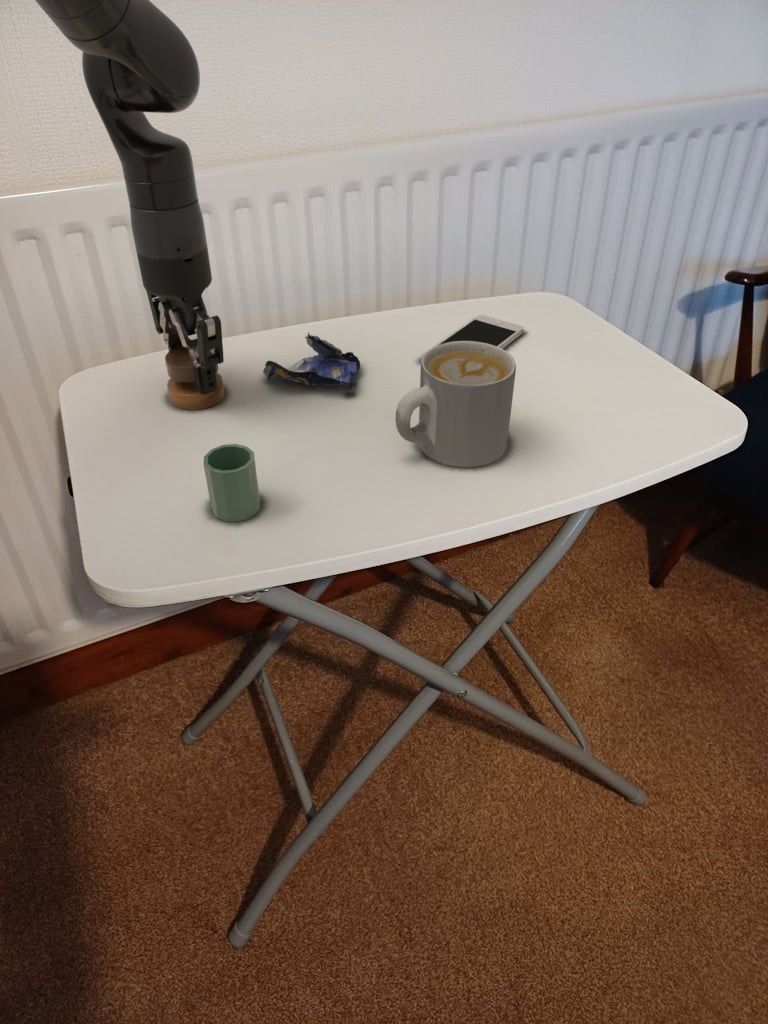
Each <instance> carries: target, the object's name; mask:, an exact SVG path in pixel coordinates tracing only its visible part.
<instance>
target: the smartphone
mask: <svg viewBox="0 0 768 1024" xmlns="http://www.w3.org/2000/svg"><path fill="white" fill-rule="evenodd" d="M524 327H525V326H523V325H520V324H516V323H512V322H509V321H507V320H506V321H505V320H502V319H499V318H495V317H492V316H488V315H485V314H479V315H477V316H476V317H474V318H473V319H471V320H470V321H468V322H467V323H466V324H464V325H463V326H461V327H460V328H459V329H457V330H455V331H454V332H453V333H451V334H450V335H448V336H446V337H445V338H444V339H443V340H441V341H440V342H438V343H437V344H436V345H434V346H433V347H435V346H437V345H440V344H444V343H448V342H455V341H474V342H482V343H487V344H490V345H494V346H496V347H499V348H501V349H503V350H504V349H505V348H506V347H507V346H508V345H510V344H511V343H512V342H514V341H515V339H517V338H518V337H520V336H521V335H522V334H523V333H524ZM425 353H426V352H424V353H423V354H422V356H423V355H424V354H425Z"/></svg>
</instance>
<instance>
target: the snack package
mask: <svg viewBox="0 0 768 1024" xmlns="http://www.w3.org/2000/svg"><path fill="white" fill-rule="evenodd" d="M304 339H306V343H307V345H308V346H309V347H310V348H311V349H313V351H314V352H316V353H317V354H315V355H313V356H308V357H304V358H301V360H299V361H296V362H294V364H292V365H291V366H289V367H284V366H282V365H281V364H279V363H277V362H275V361H272V360H267V361H266V362H265V364H264V368H263V370H262V373H263V374H264V376H265V377H266V380H267V381H268V380H270V378H272V377H273V376H275V377H277V378H279V379H283V380H287V381H291V382H297V383H300V384H303V385H306V386H310V387H317V386H318V387H319V386H321V387H322V386H332V385H338V386H340V387H343V388H347V389H349V390H353V388H354V386H355V384H356V381H357V375H358V373H359V370H360V369H361V362H360V359H359V358H358V356H356V355H355V354H354V352H352V351H347V352H345V353H343V351H342V349H340V348H338V347H336V346H335V345H334V344H333V343H331V342H328V341H327V340H324V339H321V337H319V336H316V335H311V334H310V331H308V332H307V336H304ZM348 395H349V396H350V395H351V393H350V392H349V394H348Z"/></svg>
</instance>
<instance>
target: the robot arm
mask: <svg viewBox="0 0 768 1024" xmlns="http://www.w3.org/2000/svg"><path fill="white" fill-rule="evenodd" d="M34 1H35V2H36V3H37V4H38V6H39V7H40V8H41V10H42V11H43V12H44V13H45V15H47V17H48V18H49V19H50V20H51V21H52V23H54V25H55V27H57V29H58V30H59V31H60V32H61V33H62V35H63V36H64V37H65V38H66V39H67V40H68V41H69V42H70V43H71V44H72V45H73V46H74V47H75V48H76V49H78V50H79V51H81V52H82V56H81V66H82V74H83V79H84V82H85V85H86V88H87V91H88V93H89V96H90V98H91V101H92V103H93V104H94V107H95V109H96V111H97V113H98V116H99V118H100V119H101V122H102V123H103V126H104V128H105V130H106V133H107V134H108V137H109V139H110V141H111V143H112V146H113V148H114V150H115V152H116V154H117V156H118V159H119V161H120V164H121V168H122V174H123V178H124V183H125V189H126V195H127V199H128V203H129V212H130V213H129V214H130V227H131V231H132V237H133V242H134V247H135V252H136V257H137V262H138V267H139V271H140V276H141V277H140V278H141V281H142V285H143V288H144V289H145V292H146V295H147V300H148V303H149V307H150V311H151V315H152V319H153V323H154V327H155V331H156V333H157V334H158V335H162V338H163V342H164V343H165V344H166V345H167V348H168V352H169V351H171V350H172V349H174V348H177V347H180V346H183V347H184V348H186V349H188V350H189V352H190V355H191V358H192V360H193V364H194V371H195V376H196V382H197V388H198V391H199V392H200V393H201V394H202V395H205V394H208V393H211V392H214V391H215V390H216V389H217V382H216V375H215V369H214V365H216V364H218V365H219V364H223V363H224V362H225V361H224V347H223V345H224V344H223V331H222V321H221V318H220V317H219V315H212V316H210V315H209V314H208V310H207V308H206V307H207V306H206V304H205V302H204V299H203V293H204V292H205V290H206V289H207V288H208V287H209V286H210V285H211V284H212V281H213V276H212V269H211V262H210V255H209V248H208V242H207V234H206V227H205V222H204V215H203V213H202V209H201V206H200V200H199V194H198V189H197V181H196V175H195V169H194V168H195V167H194V162H193V161H194V160H193V155H192V152H191V149H190V147H189V145H188V144H187V143H186V141H185V140H183V139H182V138H179V137H177V136H175V135H171V134H168V133H167V132H163V131H161V130H158V129H157V128H155V126H153V125H152V124H151V122H150V121H149V119H148V118H147V116H146V114H145V113H153V114H155V113H156V114H177V113H182V112H184V111H186V110H187V109H189V107H191V106H192V104H193V103H194V102H195V100H196V99H197V97H198V95H199V90H200V85H201V71H200V66H199V62H198V59H197V56H196V53H195V51H194V48H193V47H192V45H191V42H189V39H188V38H187V36H186V35H185V34H184V33H183V31H182V29H180V27H179V26H178V25H177V24H176V23H175V22H174V21H173V20H172V19H171V18H170V17H169V16H167V14H165V13H164V12H163V11H162V10H160V9H159V7H157V6H156V5H155V4H154V3H153V2H152V1H151V0H34ZM193 335H196V338H193V339H191V338H190V336H193ZM197 345H198V352H199V355H198V352H197V349H196V346H197Z"/></svg>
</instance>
